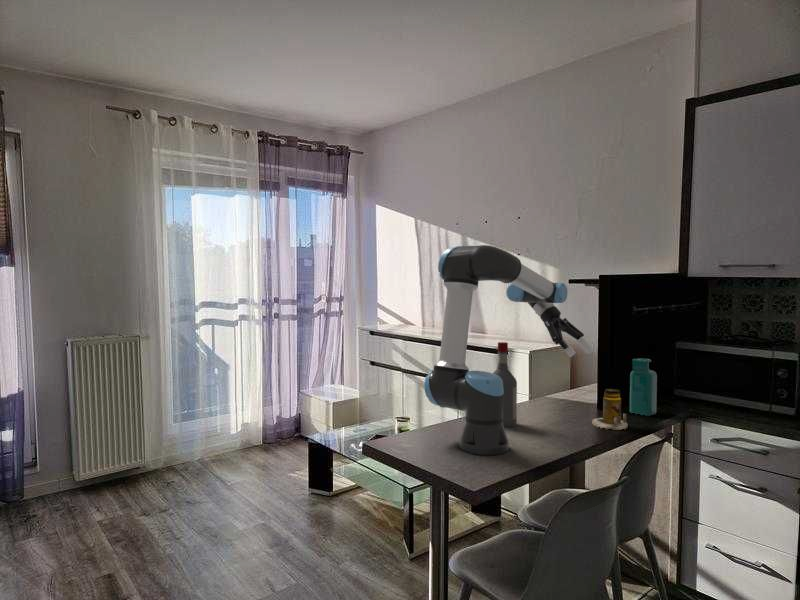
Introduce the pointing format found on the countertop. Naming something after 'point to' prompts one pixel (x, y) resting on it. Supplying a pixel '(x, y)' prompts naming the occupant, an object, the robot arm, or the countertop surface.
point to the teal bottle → (643, 388)
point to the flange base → (613, 427)
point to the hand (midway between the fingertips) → (582, 353)
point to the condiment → (611, 407)
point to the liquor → (507, 387)
